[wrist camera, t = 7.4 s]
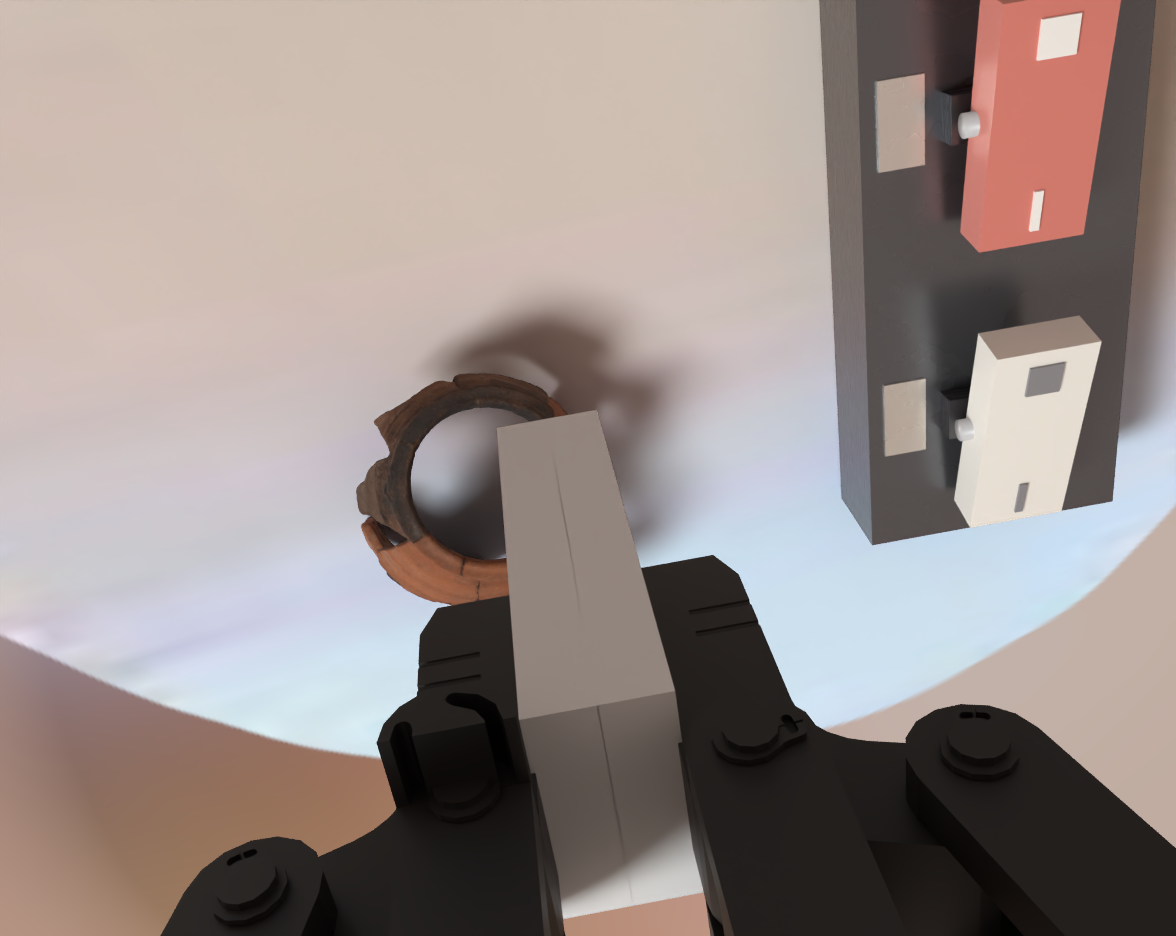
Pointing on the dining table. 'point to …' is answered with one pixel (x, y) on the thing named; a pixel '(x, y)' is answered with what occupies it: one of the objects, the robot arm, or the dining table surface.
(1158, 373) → the dining table surface
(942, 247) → the rocker switch panel
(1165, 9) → the dining table surface
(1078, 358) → the rocker
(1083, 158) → the rocker
